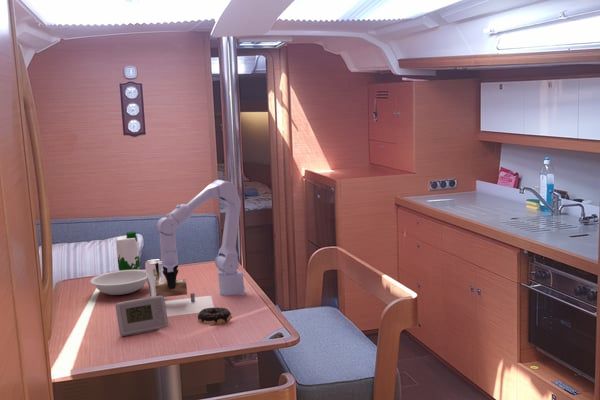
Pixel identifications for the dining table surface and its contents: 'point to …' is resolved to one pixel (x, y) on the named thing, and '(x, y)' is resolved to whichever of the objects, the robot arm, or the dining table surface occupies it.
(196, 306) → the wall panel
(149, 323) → the digital clock
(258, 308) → the dining table surface
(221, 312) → the donut
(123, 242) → the milk carton
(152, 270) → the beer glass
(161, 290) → the brown rectangular box
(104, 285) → the soup bowl
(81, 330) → the dining table surface
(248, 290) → the dining table surface
